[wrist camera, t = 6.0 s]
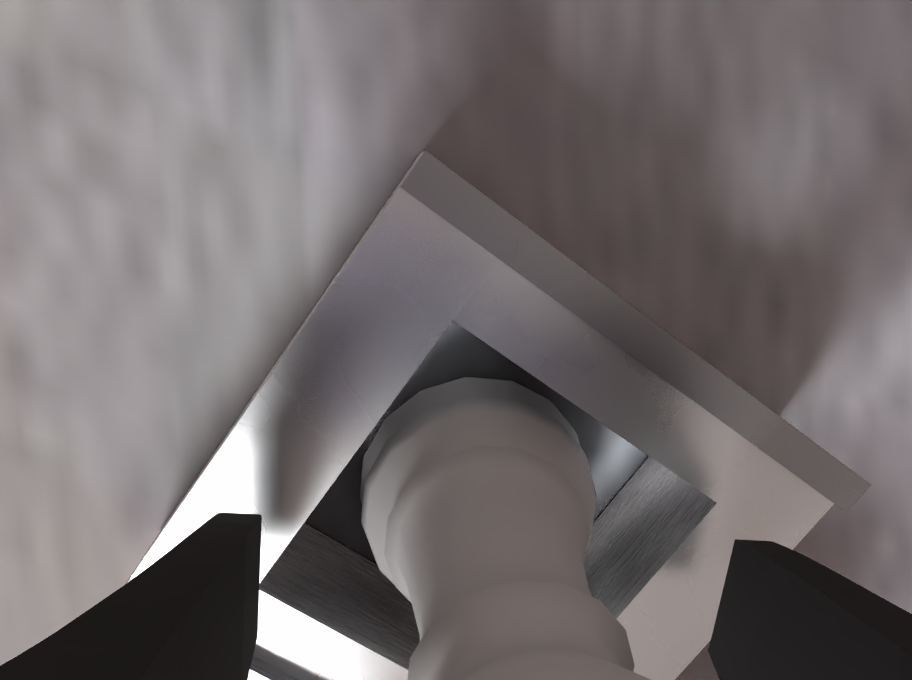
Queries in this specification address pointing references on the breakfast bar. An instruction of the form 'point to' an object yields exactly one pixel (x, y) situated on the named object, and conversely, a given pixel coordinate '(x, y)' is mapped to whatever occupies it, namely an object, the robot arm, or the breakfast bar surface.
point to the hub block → (549, 360)
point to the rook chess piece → (490, 536)
